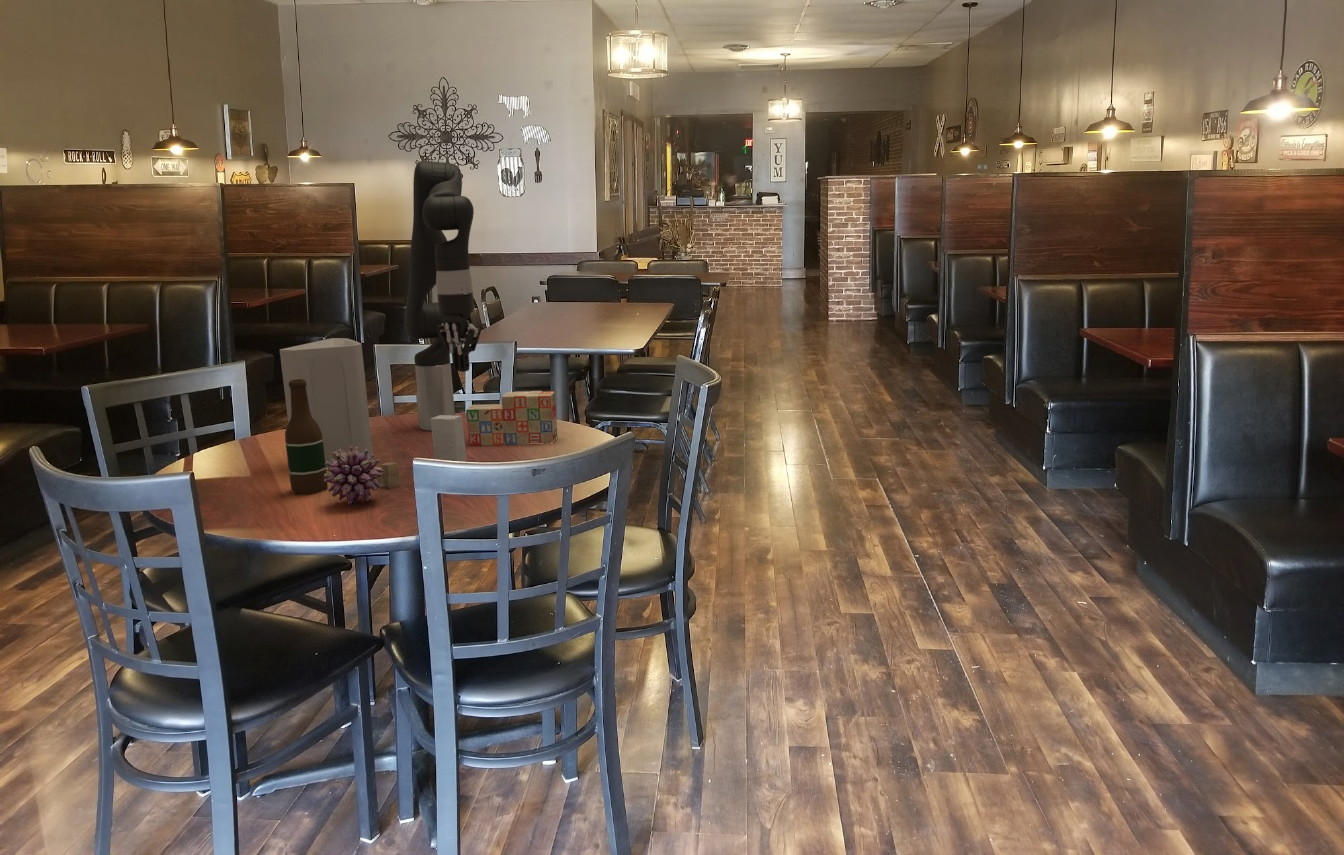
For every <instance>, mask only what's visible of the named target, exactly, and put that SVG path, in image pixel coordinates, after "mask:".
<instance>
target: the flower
mask: <svg viewBox="0 0 1344 855" xmlns="http://www.w3.org/2000/svg"><path fill="white" fill-rule="evenodd" d="M337 452H338V454H336V457H337V460H334V459H332V460H331V461H332V462H328V461H326V463H325V465H327V466H328V467H329V468H328V469H327V471H329V472H326V473H327V474H324V476H325V478H327V479H325V480H324V482H327V483H330V484H332V485H331V486H330V488H329V487H328V488H327V491H328V492H331V491H332V492H331V494H330V495H331V496H332V497H333V498H335V497H336V496H338V495H339V498H338V501H342V500H343V499H344V498H346V499H347V503H348V505H352V503H353V504H358V499H359V497H360V498H362V499H365V501H366V502H368V501H370V497H371V496H372V493H371V490H374V491H377V490H378V489H382V485H380V484H379V483H378V481H376V480H375V479H376V478H377V477H379V476H382V472H384V471H383V469H377V468H374V467H377V465H378V463H380V462H381V461H380V458H377V459H374V457H375V455H374V453H373V454H371V455H369V456H367V453H368V450H367V449H365V451H364V452H363V453H361V454H360V453H359V447H356V448H355V450H353V447H350V450H349V452H348V454H346V453H344V452H343V451H342V450H341V449H339V450H338V451H337ZM372 459H373V460H372Z"/></svg>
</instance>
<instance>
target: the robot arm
mask: <svg viewBox="0 0 1344 855" xmlns="http://www.w3.org/2000/svg"><path fill="white" fill-rule="evenodd" d="M462 177H463V176H462V171H461V169H460V167H459V165H456V164H454V163H450V162H444V161H433V160H431V161H430V160H421V161H418V162H417V163H416V165H415V166H414V171H413V180H412V181H413V183H412V184H413V190H412V191H413V193H412V194H413V196H412V197H413V203H412V204H413V205H412V206H413V223H412V232H411V233H412V234H411V241H410V242H411V243H410V255H409V285H408V292H407V299H406V303H405V311H404V312H405V314H404V328H405V332H406V334H407V336H408V338H410V339H412V340H427V339H434V340H433V342H431V344H430V345H429V346H428V347H426V348H424V349H423V350H421V351H419V352H417V353H415V354H414V358H413V359H414V367H415V378H416V379H415V380H416V388H417V392H416V393H415V398H416V399H415V400H416V406H417V407H416V408H417V409H416V410H417V417H418V418H417V419H418V427H419V428H420V429H421V430H423V431H432V429H431V420H430V419H431V418H434V417H436V416H439V415H452V416H456V411H455V400H454V398H455V397H454V389H453V388H454V385H453V379H452V378H453V376H452V368H453V371H455V372H462V373H465V372H468V371H469V370H470V356H469V354H470V353H472V352H474V351H476V348H477V346H478V343H479V340H480V336H481V333H482V329H481V328H480V327H476V326H475V325H474V324H473V323H474V322H473V319H472V316H471V314H472V313H473V312H475V306H474V303H475V302H474V292H473V289H474V288H473V281H472V280H473V279H472V275H471V269H470V258H469V256H470V255H469V241H470V235H471V230H472V225H473V220H474V213H475V212H474V210H475V209H474V205H473V203H472V201H471V200H470V199H469V197H467V196H465V195H462V193H463V192H462V190H463V178H462ZM455 230H457V234H456V236H455V237H454V238H452V239H450V240H448V238H447V237H446V236H445V233H444V232H443V231H455ZM435 286H436V292H437V295H436V296H437V302H435V301H434V302H426V303H425V300H426V298H427V296H428V294H429V293H430V292H431V291H432V290H433V289H434V287H435ZM450 355H451V356H450ZM451 359H452V360H451ZM451 361H452V364H451Z"/></svg>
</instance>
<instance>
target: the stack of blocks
mask: <svg viewBox="0 0 1344 855" xmlns="http://www.w3.org/2000/svg"><path fill="white" fill-rule="evenodd" d="M465 412H466V422H467V433H468V434H467V436H468V445H469V446H507V445H508V446H509V445H510V446H512V445H514V446H515V445H530V444H529V443H551V442H553V441H554V440H555V439H556V437H557V438H558V426H557V424H558V422H557V403H556V392H555V391H543V390H531V391H507V392H505V393H504V394H503V395H502V396H501V403H499V404H495V403H494V404H471V405H470V406H468V408H467V409H465Z"/></svg>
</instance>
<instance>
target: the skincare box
mask: <svg viewBox="0 0 1344 855" xmlns="http://www.w3.org/2000/svg"><path fill="white" fill-rule="evenodd" d="M430 420H431V429H432V430H431V438H432V446H433V447H432V449H433V458H434V459H443V460H452V461H466V462H467V454H466V444H465V434H464V433H465V432H464V423H463V416H462V415H455V416H452V415H439V416H436V417H434V418H431V419H430Z"/></svg>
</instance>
